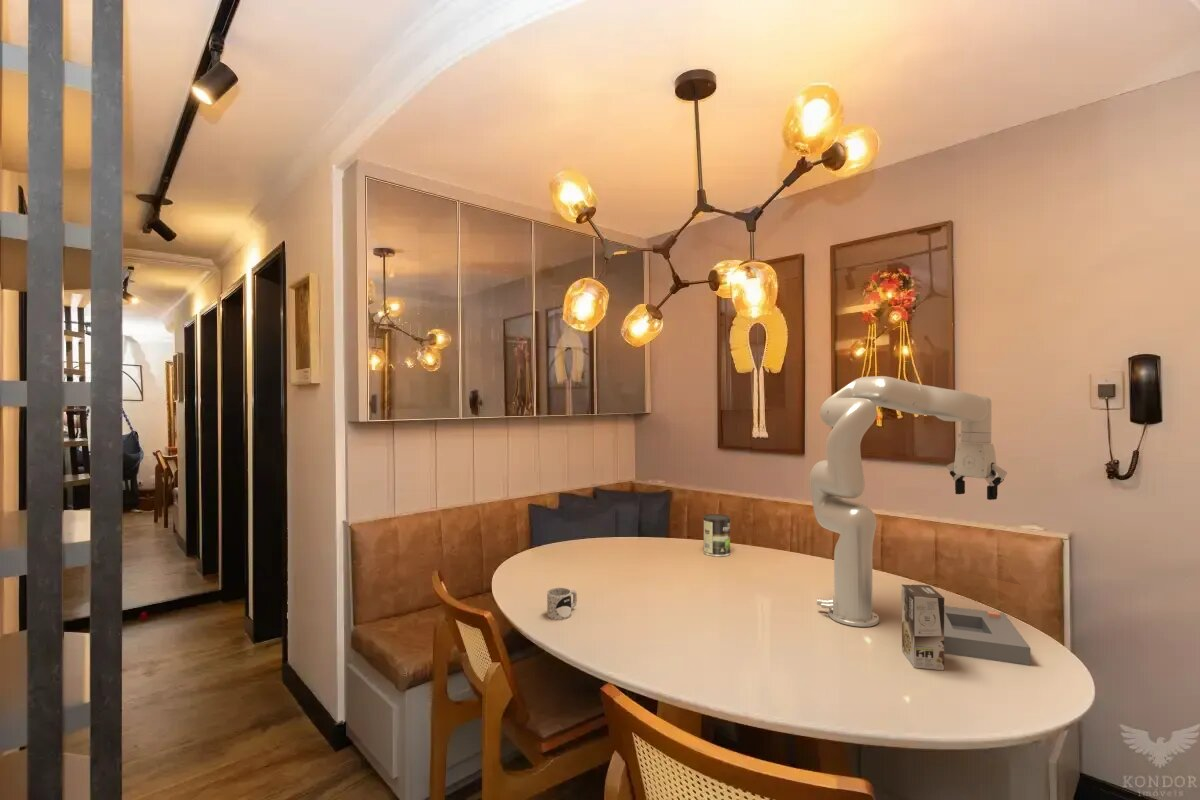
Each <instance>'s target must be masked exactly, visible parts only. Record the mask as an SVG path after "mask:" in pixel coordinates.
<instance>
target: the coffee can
mask: <svg viewBox="0 0 1200 800" xmlns="http://www.w3.org/2000/svg"><path fill="white" fill-rule="evenodd" d="M702 518H703V519H702V520H703V554H704V555H707V556H711V557H716V558H717V557H719V558H720V557H727V556H729V555H731V517H730V516H729V515H725V514H719V513H718V514H717V513H713V514H710V513H709V514H705V515H703V516H702Z"/></svg>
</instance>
